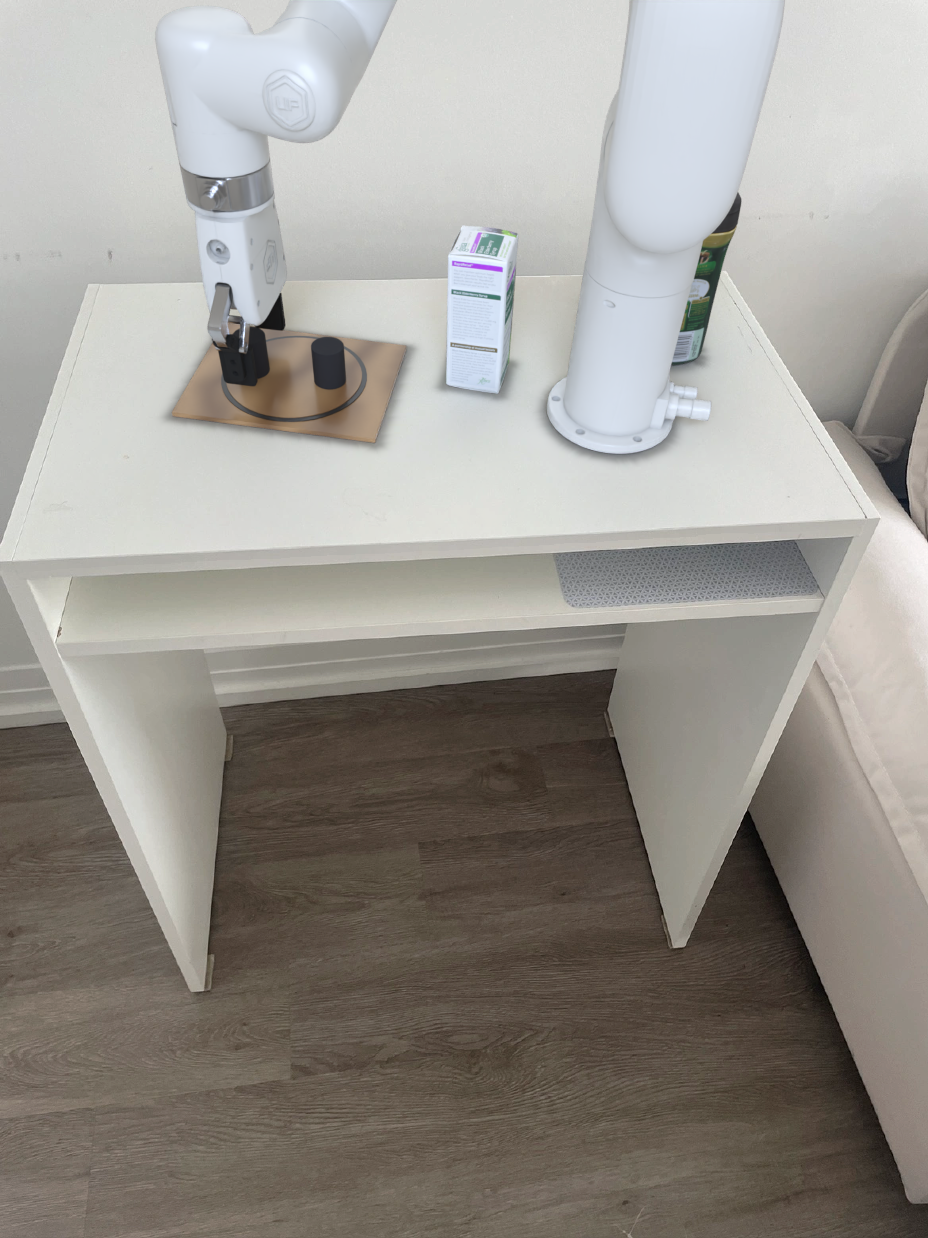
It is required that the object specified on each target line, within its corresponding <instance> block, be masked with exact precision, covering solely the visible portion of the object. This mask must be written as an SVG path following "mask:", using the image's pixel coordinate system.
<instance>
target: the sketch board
mask: <svg viewBox="0 0 928 1238" xmlns="http://www.w3.org/2000/svg"><path fill="white" fill-rule="evenodd" d="M227 326H228V329H229V334H233V333H234V332H235V331H236V330H237V329H240V324H231V323H227ZM250 327H255V326H254V325H250ZM260 329H261V328H260ZM261 330H263V331H264V333H265V337H266V345H267V352H268V359H269V366H270V371H269V373H268V374H267V375H266V376H265V377H262V378H260V379H258V382H257V384H256V386H245V385H237V384H229V383H226V382H225V381H224V378H223V373H222V368H221V363H220V358H219V353H218V351H217V350H216V348H215V346H214V345H213V342H212V343H211V344H210V346H209V348H208V349H207V351H206V353H205V354H204V356H203V357H202V359H201V361H200V362H199V364H198V366H197V368H196V370H195V372H194V373H193V375H192V377H191V379H190V380H189V382H188V384H187V385H186V387H185V388H184V391H182V394H181V395H180V397H179V399H178V401H177V402H176V403H175V405H174V408H173V409H172V411H171V416H172V417H174V418H175V417H176V418H181V419H182V418H183V419H189V420H190V419H191V420H199V421H205V422H214V423H221V424H228V425H236V426H245V427H251V428H260V429H267V430H273V431H274V430H275V431H281V432H282V431H283V432H290V433H297V434H304V435H312V436H319V437H327V438H334V439H341V440H342V439H343V440H348V441H357V442H364V443H373V444H375V443H376V441H377V438H378V435H379V432H380V430H381V427H382V423H383V420H384V418H385V416H386V411H387V408H388V405H389V402H390V400H391V396H392V393H393V390H394V387H395V385H396V382H397V379H398V376H399V372H400V370H401V367H402V364H403V361H404V357H405V355H406V352H407V345H405V344H398V343H390V342H384V341H383V342H382V341H375V340H374V341H373V340H367V339H365V340H364V339H358V338H349V337H341V336H334V335H325V334H317V333H310V332H302V331H293V330H287V329H284V330H282V331H279V330H270V329H261ZM321 337H334V338H337V339H339V340H341V341H342V342H343V344H344V355H345V370H346V382H345V384H344V385H343V386H342V387H340V388H337V389H332V390H327V389H322V388H320V387H318V386H317V385H316V384H315V382H314V374H313V363H312V353H311V344H312V342H313V341H314V340H316V339H318V338H321Z"/></svg>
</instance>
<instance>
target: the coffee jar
mask: <svg viewBox="0 0 928 1238" xmlns="http://www.w3.org/2000/svg"><path fill="white" fill-rule="evenodd" d="M741 207H742V197H741V195H740V193H739V192H738V193H737V195H736V198H735V200H734V202H733V205H732V207H731V209H730V210H729V212H728V214H727V215H726V217H725V218H724V220H723V221H722V222H721V224H720V225H719V226H718V227H717V228H716V230H715V231H713V232H712V233H711V234H710V235H709V236H708V237H707V238H705V239H704V240H703V244H702V248H701V252H700V257H699V261H698V265H697V269H696V272H695V276H694V280H693V282H692V286H691V290H690V293H689V297H688V301H687V305H686V309H685V313H684V317H683V321H682V325H681V329H680V332H679V336H678V340H677V344H676V348H675V352H674V356H673V360H672V364H671V366H679V365H683V364H688V363H691V362H693V361H695V360H697V359H698V358H699V357H700V355H701V354H702V351H703V347H704V343H705V340H706V334H707V332H708V327H709V322H710V318H711V313H712V310H713V305H714V302H715V298H716V294H717V289H718V285H719V282H720V278H721V274H722V269H723V266H724V263H725V258H726V255H727V252H728V249H729V246H730V244H731V242H732V239H733V237H734V235H735V233H736V230H737V226H738V224H739V220H740V219H739V218H740V213H741Z"/></svg>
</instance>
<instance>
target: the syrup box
mask: <svg viewBox="0 0 928 1238" xmlns="http://www.w3.org/2000/svg"><path fill="white" fill-rule="evenodd" d="M518 247H519V234H518V232H514V231H510V230H508V229H507V230H506V229H501V228H495V227H489V226H478V225H477V226H476V225H464V224H462V225H461V227H460V229H459V232H458V233H457V235H456V237H455V239H454V241H453V242H452V245H451V248H450V250H449V252H448V255H447V290H446V291H447V292H446V293H447V295H446V296H447V297H446V350H445V351H446V352H445V384H446V385H447V386H448V387H455V388H458V389H464V390H470V391H476V392H483V393H491V394H499V393H500V390H501V388H502V385H503V382H504V379H505V376H506V373H507V370H508V368H509V367H508V366H509V364H510V356H511V355H510V354H511V341H512V340H511V339H512V330H513V329H512V328H513V315H514V301H515V289H516V274H517V263H518V262H517V260H518V249H519V248H518Z"/></svg>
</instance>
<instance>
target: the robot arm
mask: <svg viewBox="0 0 928 1238" xmlns="http://www.w3.org/2000/svg"><path fill="white" fill-rule="evenodd" d="M397 2H398V0H289V1H288V3H287V6H286V7H285V10H284V11H283V12H282V13H281V14H280V16H279V17H278V18H277V20H276V21H275V22H274V23H273V25H272V26H271V27H269V28H267V29H265V30H263V31H259V32H257V33H254V31H253V28H252V25H251V24H250V22H249V21H248V20H247V19H246V17H244V16H243V15H242V14H241V13H239V12H238V11H235V10H233V9H230V8H226V7H223V6H216V5H191V6H185V7H181V8H178V9H174V10H171V11H169V12H168V13H166V14H164V15H163V16H162V17H161V18H160V19H159V21H158V22H157V24H156V27H155V32H154V40H155V41H154V42H155V48H156V54H157V59H158V64H159V69H160V73H161V79H162V83H163V89H164V94H165V100H166V103H167V109H168V115H169V119H170V124H171V129H172V134H173V140H174V145H175V149H176V155H177V159H178V166H179V169H180V174H181V175H180V176H181V179H182V184H183V185H182V186H183V189H184V194H185V199H186V203H187V206H188V207H189V208H190V209H191V210H192V211H193V212H194V222H195V223H194V224H195V233H196V234H195V236H196V244H197V245H196V246H197V253H198V260H199V268H200V273H201V279H202V280H201V281H202V286H203V291H204V296H205V300H206V305H207V308H208V312H209V317H208V320H207V327H206V329H207V333H208V334H209V336H210V338H211V341H212V343H213V345H214V346H215V348H216V350H217V351H218V353H219V358H220V363H221V368H222V373H223V378H224V381H225V382H226V383H229V384H237V385H245V386H256V384H257V382H258V379H257V373H256V367H255V361H254V355H253V349H252V348H251V347H248V341H249V329H250V326H251V325H253V326H255V327H257V328H261V329H270V330H279V331H282V330H285V328H286V317H285V310H284V309H285V308H284V303H283V295H282V290H283V288H284V286H285V284H286V281H287V278H288V277H287V276H288V267H287V260H286V255H285V249H284V243H283V242H284V241H283V236H282V231H281V225H280V219H279V216H278V215H279V214H278V210H277V205H276V202H275V198H276V194H275V186H274V178H273V177H274V176H273V170H272V162H271V153H270V145H269V139H268V137H271V138H274V139H278V140H281V141H284V142H289V143H294V144H311V143H316V142H318V141H321V140H323V139H325V138H327V137H328V136H329V135H330V134H332V133H333V132H334V130H335V129H336V128H337V126H338V125H339V123H340V122H341V121H342V118H343V116H344V114H345V112H346V110H347V108H348V107H349V104H350V102H351V100H352V97H353V95H354V94H355V92H356V89H357V88H358V86H359V85H360V83H361V81H362V80H363V77H364V75H365V73H366V71H367V69H368V67H369V65H370V62H371V59H372V57H373V56H374V53H375V51H376V48H377V46H378V44H379V41H380V39H381V37H382V35H383V33H384V31H385V28H386V26H387V24H388V22H389V19H390V16H391V15H392V13H393V11H394V8H395V6H396V4H397ZM628 2H629V3H628V15H627V24H626V27H627V28H626V34H625V39H624V40H625V41H624V48H623V55H622V62H621V67H620V75H619V83H618V89H617V90H616V92H615V94H614V95H613V97H612V100H611V101H610V104H609V106H608V110H607V113H606V117H605V120H604V126H603V130H602V137H601V146H600V155H599V162H598V163H599V166H598V172H597V178H596V179H597V180H596V186H595V196H594V202H593V209H592V216H591V223H590V224H591V225H590V230H589V237H588V242H587V250H586V254H585V255H586V256H585V261H584V266H583V272H582V279H581V285H580V292H579V297H578V304H577V311H576V317H575V322H574V329H573V335H572V336H573V337H572V343H571V349H570V355H569V362H568V369H567V374H566V375H567V376H565V377H563V378H561V379H560V380H559V381H557V382H556V383H555V384H554V386H553V387H552V388H551V389H550V391H549V394H548V396H547V403H546V412H547V416H548V419H549V422H550V423H551V425H552V426H553V427H554V429H555V430H556V431H557V432H558V433H559V434H560V435H561V436H563V437H564V438H565V439H567V440H568V441H570V442H571V443H574V444H575V445H578V446H579V447H582V448H585V449H588V450H591V451H594V452H599V453H604V454H614V455H623V454H624V455H626V454H634V453H639V452H643V451H646V450H649V449H652V448H654V447H655V446H658V445H660V444H661V443H662V442H663V441H664V440H665V439H667V437H668V435H669V434H670V432H671V430H672V427H673V424H674V421H675V419H676V417H680V418H687V419H690V420H696V421H697V420H699V421H705V422H707V421H709V419H710V415H711V412H712V400H708V399H699V398H697V397H698V392H699V391H698V390H699V389H698V388H699V387H698V386H693V385H678V384H675V382H674V381H671V377H670V376H671V375H670V374H671V373H670V372H671V368H672V365H671V364H672V360H673V356H674V352H675V348H676V344H677V340H678V336H679V332H680V329H681V325H682V321H683V317H684V313H685V309H686V305H687V301H688V297H689V293H690V290H691V286H692V282H693V280H694V276H695V272H696V269H697V265H698V261H699V257H700V252H701V248H702V244H703V240H704V239H705V238H707V237H708V236H709V235H710V234H711V233H712V232H713V231H715V230H716V228H717V227H718V226H719V225H720V224H721V222H722V221H723V220H724V218H725V217H726V215H727V214H728V212H729V210H730V209H731V207H732V205H733V202H734V200H735V198H736V195H737V193H739V190H740V187H741V183H742V180H743V177H744V174H745V170H746V168H747V163H748V159H749V156H750V153H751V149H752V145H753V141H754V138H755V133H756V130H757V127H758V124H759V119H760V115H761V112H762V108H763V104H764V100H765V97H766V94H767V89H768V85H769V82H770V78H771V74H772V71H773V66H774V62H775V58H776V55H777V52H778V51H777V50H778V46H779V43H780V37H781V34H782V33H781V32H782V27H783V20H784V13H785V7H786V0H629V1H628ZM231 310H236V311H238V313H239V315H232V314H230V313H231ZM227 323H231V324H239V325H240V332H239V338H237V337H236V336H235V335H233V334H229V329H228V326H227Z"/></svg>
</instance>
